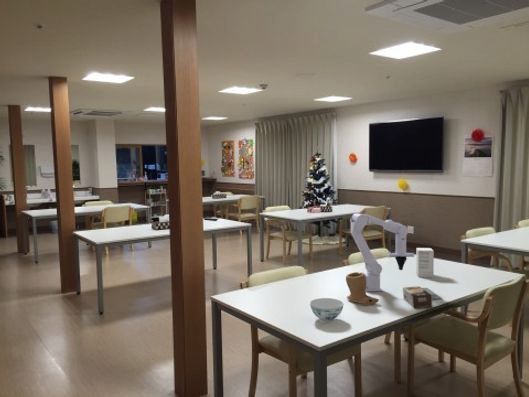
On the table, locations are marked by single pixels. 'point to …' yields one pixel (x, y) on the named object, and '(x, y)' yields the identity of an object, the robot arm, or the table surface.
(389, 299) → the table surface
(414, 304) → the coffee box
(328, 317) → the chinaware
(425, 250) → the supplement box
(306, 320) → the table surface
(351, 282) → the brown boot shaped vase
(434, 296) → the mat
